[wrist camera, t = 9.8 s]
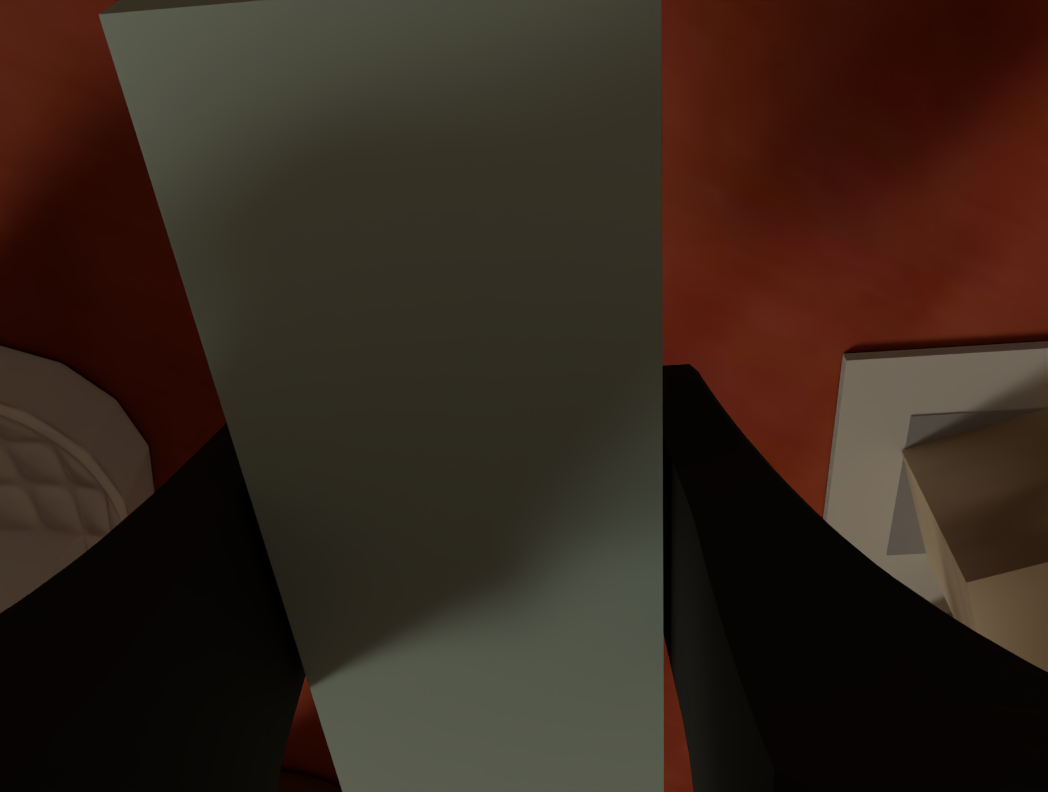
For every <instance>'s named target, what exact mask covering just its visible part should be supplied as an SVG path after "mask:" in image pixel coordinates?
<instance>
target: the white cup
mask: <svg viewBox="0 0 1048 792" xmlns="http://www.w3.org/2000/svg"><path fill="white" fill-rule="evenodd" d="M152 494H154V484H153V476H152V468H151V460H150V452H149V446H148V444H147V443H146V441H145V440H144V438H143V437H142V436H141V434H140V433H139V431H138V430H137V429H136V427H135V426H134V424H133V423H132V421H131V420H130V419H129V417H128V416H127V414H126V413H125V411H124V410H123V409H122V407H121V406H120V404H119V403H118V402H117V400H116V399H114V398H113V397H112V396H110V395H109V394H107V393H106V392H104V391H103V390H101V389H100V388H98V387H97V386H95V385H94V384H93V383H91V382H90V381H88V380H87V379H85V378H84V377H82V376H81V375H79V374H78V373H76V372H75V371H73V370H72V369H70V368H69V367H67V366H66V365H64V364H63V363H60V362H57V361H53V360H50V359H46V358H43V357H39V356H36V355H32V354H29V353H25V352H22V351H18V350H14V349H11V348H7V347H4V346H0V613H1V612H3V611H4V610H6V609H7V608H9V607H11V606H12V605H14V604H15V603H17V602H18V601H20V600H21V599H22V598H24V597H25V596H27V595H28V594H30V593H31V592H32V591H34V590H35V589H37V588H38V587H39V586H41V585H42V584H43V583H45V582H46V581H48V580H49V579H50V578H52V577H53V576H54V575H56V574H57V573H59V572H60V571H61V570H63V569H64V568H65V567H67V566H68V565H69V564H71V563H72V562H73V561H74V560H76V559H77V558H78V557H80V556H81V555H82V554H83V553H85V552H86V551H87V550H89V549H90V548H91V547H92V546H93V545H95V544H96V543H97V542H98V541H100V540H101V539H102V538H103V537H104V536H106V535H107V534H108V533H109V532H110V531H111V530H112V529H114V528H115V527H116V526H117V525H118V524H119V523H120V522H122V521H123V520H124V519H125V518H126V517H127V516H128V515H130V514H131V513H132V512H133V511H134V510H135V509H136V508H138V507H139V506H140V505H141V504H142V503H143V502H144V501H146V500H147V499H148V498H149V497H150V496H151V495H152Z"/></svg>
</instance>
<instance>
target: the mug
mask: <svg viewBox="0 0 1048 792" xmlns="http://www.w3.org/2000/svg"><path fill="white" fill-rule="evenodd" d="M277 792H342V789H341V788H339V787H337V786H336V785H334V784H331V783H329V782H326V781H324V780H321V779H318V778H315V777H312V776H308V775H304V774H300V773H295V772H288V771H280V775H279V781H278V787H277Z"/></svg>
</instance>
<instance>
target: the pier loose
mask: <svg viewBox="0 0 1048 792" xmlns="http://www.w3.org/2000/svg"><path fill="white" fill-rule="evenodd" d="M901 451H902V455H903V459H904V463H905V468H906V472H907V476H908V480H909V484H910V488H911V493H912V497H913V501H914V505H915V509H916V514H917V518H918V522H919V526H920V530H921V534H922V539H923V543H924V547H925V551H926V555H927V560H928V562H929V564H930V566H931V568H932V571H933V573H934V575H935V577H936V579H937V581H938V584H939V586H940V588H941V590H942V592H943V595H944V597H945V599H946V601H947V603H948V605H949V608H950V610H951V612H952V614H953V616H954V618H955V619H956V620H958V621H959V622H961V623H963V624H964V625H966V626H967V627H969V628H971V629H972V630H974V631H975V632H977V633H979V634H981V635H982V636H984V637H986V638H988V639H989V640H991V641H993V642H994V643H996V644H998V645H1000V646H1001V647H1003V648H1005V649H1007V650H1008V651H1010V652H1012V653H1014V654H1015V655H1017V656H1019V657H1021V658H1022V659H1024V660H1026V661H1028V662H1029V663H1031V664H1033V665H1035V666H1037V667H1039V668H1040V669H1043V670H1045V671H1047V672H1048V408H1047V409H1043V410H1040V411H1036V412H1033V413H1029V414H1026V415H1022V416H1019V417H1015V418H1012V419H1008V420H1005V421H1001V422H998V423H994V424H991V425H987V426H984V427H980V428H977V429H974V430H970V431H967V432H963V433H960V434H956V435H953V436H949V437H946V438H942V439H939V440H935V441H932V442H928V443H925V444H921V445H918V446H914V447H911V448H907V449H904V450H901Z"/></svg>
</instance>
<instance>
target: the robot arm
mask: <svg viewBox="0 0 1048 792" xmlns="http://www.w3.org/2000/svg"><path fill="white" fill-rule="evenodd" d="M662 376H663V633H664V638H665V642H666V646H667V651H668V655H669V660H670V664H671V669H672V673H673V678H674V682H675V687H676V691H677V696H678V700H679V705H680V709H681V714H682V718H683V723H684V729H685V734H686V740H687V745H688V751H689V757H690V765H691V774H692V782H693V790H694V792H1048V672H1047V671H1045V670H1043V669H1040V668H1039V667H1037V666H1035V665H1033V664H1031V663H1029V662H1028V661H1026V660H1024V659H1022V658H1021V657H1019V656H1017V655H1015V654H1014V653H1012V652H1010V651H1008V650H1007V649H1005V648H1003V647H1001V646H1000V645H998V644H996V643H994V642H993V641H991V640H989V639H988V638H986V637H984V636H982V635H981V634H979V633H977V632H975V631H974V630H972V629H971V628H969V627H967V626H966V625H964V624H963V623H961V622H959V621H958V620H956V619H955V618H953V617H951V616H950V615H948V614H947V613H945V612H944V611H942V610H941V609H939V608H938V607H936V606H935V605H933V604H932V603H930V602H929V601H928V600H926V599H925V598H923V597H922V596H920V595H919V594H917V593H916V592H914V591H913V590H911V589H910V588H909V587H907V586H906V585H904V584H903V583H901V582H900V581H898V580H897V579H895V578H894V577H893V576H891V575H890V574H889V573H887V572H886V571H885V570H883V569H882V568H881V567H879V566H878V565H877V564H875V563H874V562H873V561H872V560H870V559H869V558H868V557H867V556H866V555H864V554H863V553H862V552H861V551H860V550H858V549H857V548H856V547H855V546H854V545H852V544H851V543H850V542H849V541H848V540H846V539H845V538H844V537H843V536H842V535H841V534H839V533H838V532H837V531H836V530H835V529H834V528H833V527H832V526H830V525H829V524H828V523H827V522H826V521H825V520H824V519H823V518H822V517H821V516H820V515H819V514H818V513H816V512H815V511H814V510H813V509H812V508H811V507H810V506H809V505H808V504H807V503H806V502H805V501H804V500H803V499H802V498H801V497H800V496H799V495H798V494H797V493H796V492H795V491H794V490H793V489H792V488H791V487H790V486H789V485H788V484H787V483H786V481H785V480H784V479H783V478H782V477H781V476H780V475H779V474H778V473H777V472H776V471H775V470H774V469H773V467H772V466H771V465H770V464H769V463H768V462H767V461H766V459H765V458H764V457H763V456H762V455H761V454H760V453H759V451H758V450H757V449H756V448H755V447H754V446H753V445H752V443H751V442H750V441H749V440H748V439H747V438H746V436H745V435H744V434H743V433H742V431H741V430H740V429H739V428H738V427H737V425H736V424H735V423H734V421H733V420H732V419H731V417H730V416H729V415H728V414H727V412H726V411H725V410H724V408H723V407H722V406H721V404H720V403H719V402H718V400H717V399H716V398H715V396H714V395H713V393H712V392H711V390H710V389H709V387H708V386H707V384H706V383H705V381H704V380H703V378H702V377H701V375H700V374H699V372H698V371H697V370H696V369H695V368H693V367H692V366H691V365H690V364H684V365H668V366H662ZM305 675H306V674H305V671H304V668H303V664H302V661H301V658H300V655H299V652H298V649H297V645H296V642H295V639H294V636H293V633H292V629H291V626H290V623H289V620H288V617H287V613H286V610H285V607H284V604H283V601H282V597H281V594H280V591H279V588H278V585H277V582H276V578H275V575H274V572H273V569H272V566H271V562H270V559H269V556H268V553H267V550H266V546H265V543H264V540H263V537H262V534H261V531H260V527H259V524H258V521H257V518H256V515H255V511H254V508H253V505H252V502H251V499H250V495H249V492H248V489H247V486H246V483H245V479H244V476H243V473H242V470H241V467H240V464H239V460H238V457H237V454H236V451H235V448H234V444H233V441H232V438H231V435H230V432H229V428H228V425H227V423H226V424H225V425H224V426H223V427H222V428H221V429H220V430H219V431H218V432H217V433H216V434H215V435H214V436H213V437H212V438H211V439H210V440H209V441H208V442H207V443H206V444H205V445H204V446H203V447H202V448H201V449H200V450H199V451H198V452H197V453H196V454H195V455H194V456H193V457H192V458H191V459H189V460H188V461H187V462H186V463H185V464H184V465H183V466H182V467H181V468H180V469H179V470H178V471H177V472H176V473H175V474H174V475H173V476H172V477H171V478H170V479H169V480H168V481H167V482H166V483H165V484H164V485H162V486H161V487H160V488H159V489H158V490H157V491H156V492H155V493H154V494H152V495H151V496H150V497H149V498H148V499H147V500H146V501H144V502H143V503H142V504H141V505H140V506H139V507H138V508H136V509H135V510H134V511H133V512H132V513H131V514H130V515H128V516H127V517H126V518H125V519H124V520H123V521H122V522H120V523H119V524H118V525H117V526H116V527H115V528H114V529H112V530H111V531H110V532H109V533H108V534H107V535H106V536H104V537H103V538H102V539H101V540H100V541H98V542H97V543H96V544H95V545H93V546H92V547H91V548H90V549H89V550H87V551H86V552H85V553H83V554H82V555H81V556H80V557H78V558H77V559H76V560H74V561H73V562H72V563H71V564H69V565H68V566H67V567H65V568H64V569H63V570H61V571H60V572H59V573H57V574H56V575H54V576H53V577H52V578H50V579H49V580H48V581H46V582H45V583H43V584H42V585H41V586H39V587H38V588H37V589H35V590H34V591H32V592H31V593H30V594H28V595H27V596H25V597H24V598H22V599H21V600H20V601H18V602H17V603H15V604H14V605H12V606H11V607H9V608H7V609H6V610H4V611H3V612H1V613H0V792H277V787H278V781H279V775H280V770H281V766H282V761H283V757H284V753H285V748H286V744H287V740H288V735H289V732H290V728H291V725H292V721H293V718H294V714H295V710H296V707H297V703H298V700H299V696H300V693H301V689H302V685H303V682H304V678H305Z"/></svg>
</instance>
